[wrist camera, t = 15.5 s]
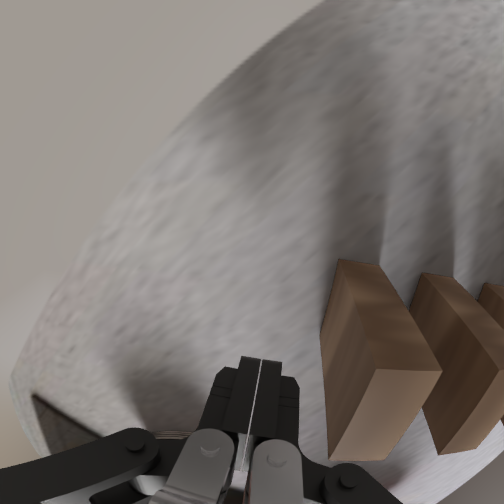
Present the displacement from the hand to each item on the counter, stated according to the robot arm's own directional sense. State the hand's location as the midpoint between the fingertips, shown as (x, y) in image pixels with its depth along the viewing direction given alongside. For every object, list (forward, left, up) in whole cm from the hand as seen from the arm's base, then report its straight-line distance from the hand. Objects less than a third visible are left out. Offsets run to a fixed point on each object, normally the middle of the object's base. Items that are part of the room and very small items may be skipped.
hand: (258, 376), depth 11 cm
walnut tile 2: (0, -10, -7) cm, 12 cm away
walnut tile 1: (0, -4, -7) cm, 8 cm away
